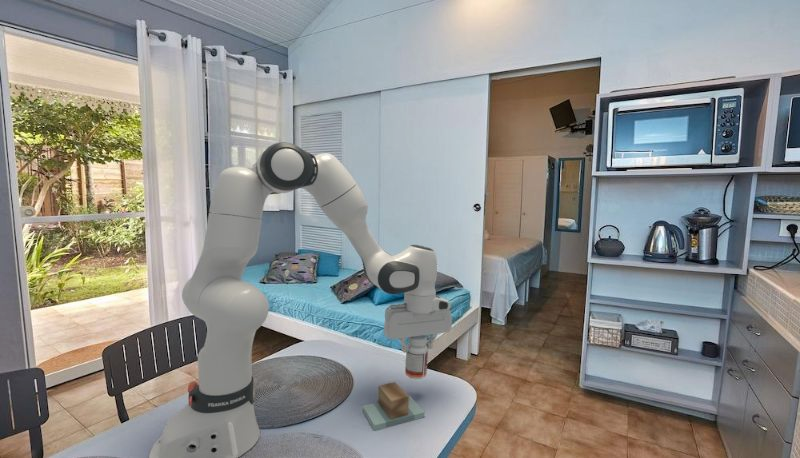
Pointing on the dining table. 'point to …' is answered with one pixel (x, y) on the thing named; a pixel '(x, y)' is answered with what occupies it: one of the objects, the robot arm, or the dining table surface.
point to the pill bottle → (417, 357)
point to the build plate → (382, 420)
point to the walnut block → (393, 400)
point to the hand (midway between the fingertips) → (417, 349)
